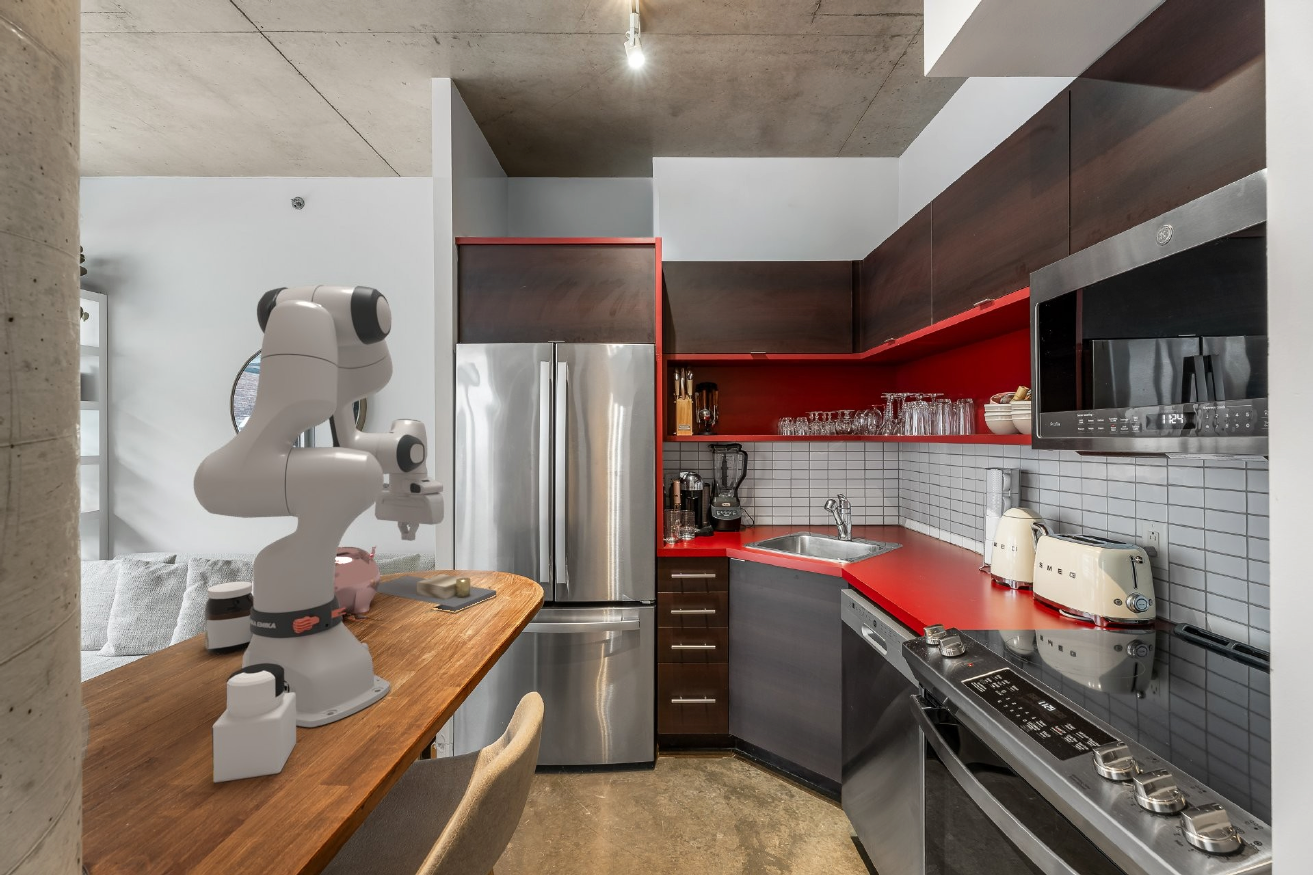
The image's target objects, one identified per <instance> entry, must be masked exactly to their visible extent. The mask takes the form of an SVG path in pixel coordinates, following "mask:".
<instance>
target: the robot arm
mask: <svg viewBox="0 0 1313 875" xmlns="http://www.w3.org/2000/svg"><path fill="white" fill-rule="evenodd" d="M256 306H257V307H256V319H257V322H258V325H259V327H260V330H261V331H262V333H263V338H262V343H261V352H260V359H259V360H260V361H259V373H258V374H259V376H258V383H257V389H256V396H255V403H254V406H253V408H252V412H251V414H250V415H249V418H248V420H247V421H246V423H245V424H244V426H243V427H242V428H241V430H240V431H239V432H238V433H237V434H236V435H235V436H234V437H233V438H232V439H231V440H229V441H228V442H227V443H225V445H223V446H221V447H220V448H218V449H217V450H215V451H213V452H212V453H210V454H209V455H207V456H206V457H204V459H203V460H202V461H201V463H200V464H199V465H198V467H197V468H196V472H195V474H194V477H193V491H194V495H195V498H196V499H197V501H198V502H199V504H200V505H201V507H202V508H203V509H204V510H206V511H207V512H208V513H209V514H213V515H219V516H226V517H233V518H234V517H235V518H242V519H243V518H244V519H247V518H248V519H252V518H275V517H277V518H278V517H295V518H297V527H296V529H295V531H293V532H291V533H290V534H287V535H285V536H283V537H281V538H279V539H277V540H275V541H274V542H271V543H269V544H268V545H267V546H265V547H263V548H262V549H261V550H260V551H259V552H258V554H257V555H256V556H255V559H254V561H253V564H252V576H253V577H252V578H253V579H252V580H253V581H252V591H253V593H252V595H253V604H254V605H253V606H252V607H251V609H250V616H249V622H250V631H251V632H252V633H253V636H252V639H251V641H250V644H249V646H248V648H247V649H245V650H244V654H243V656H242V665H241V669H242V668H244V667H247V666H251V665H255V664H261V663H271V664H278V665H280V666H282V667H283V668H284V693H292V692H294V693H295V694H296V726H298V727H305V728H315V727H319V726H323V725H326V724H330V723H332V722H336V721H339V720H342V719H343V718H345V717H346V718H347V717H348V716H351V715H353V714H355V713H357V712H359V711H361V710H363V709H365V708H367V707H370V706H371V705H373V704H374V703H376V702H377V701H379V700H380V699H381V698H383V697H384V696H386V695H387V694H388V693H389V692H390V690H391V683H390V681H388V680H386V679H384V678H382V677H380V676H379V675H376V674H374V673H375V672H374V671H375V670H374V662H373V658H372V655H371V653H370V648H369V645H368V644H367V643H366V642H360V641H359V639H358V638H357V637H356V636H355V635H354V633H352V632H351V631H350V630H349V628H347V626H346V625H345V623H343V619H344V618H343V616H345V615H344V614H346V613H341V611H343V610H344V609H346V608H345V607H343V608H340V604H339V603H338V600H337V597H336V596H335V595H334V579H335V564H336V555H337V550H338V547H340V544H341V542H342V538H343V537H344V534H346V532H347V530H348V529H349V527H350V526H351V524H352V523H354V521H355V520H356V519H357V518H358V517H360V515H363V513H365V511H367V510H368V509H370V508H371V507H372V506H373V505H374V504H375V506H374V516H375V518H376V520H378V521H379V520H380V521H388V522H397V528H398V530H399V531H400V534H401V535H400V536H401V537H400V538H401V540H402V541H410V542H411V541H415V540H416V533H417V532H418V529H419V527H420V525H432V526H433V525H437V524H441V523H442V522H443V520H444V517H445V504H444V498H443V495H442V494H441V493H442V492H443V491H444V485H443V483H441V482H439V481H437V480H435V479H433V478H432V477H430V476H428V467H427V464H426V463H427V462H426V461H427V458H428V436H427V431H426V425H425V424H424V423H423V422H422V421H420V420H417V419H411V418H410V419H409V418H398V419H395V420H393V421H392V423H391V425H390V426H391V427H390V431H389V432H385V433H384V432H380V433H379V432H371V433H370V432H364V431H361V430H359V429H358V428H356V427H357V426H356V419H355V414H354V413H355V412H354V407H353V404H354V403H355V402H358V401H361V400H364V399H366V398H370V397H372V396H374V395H375V394H377V393H379V392H381V391H382V390H383V389H384V388H385V387H386V386H387V385H388V384H389V383H390V381H391V379H392V376H393V373H394V372H393V368H394V367H393V361H392V358H391V354H390V351H389V347H388V345H387V341H386V338H387V336H388V335H389V334H390V332H391V329H392V320H393V319H392V318H393V317H392V311H391V308H390V305H389V302H388V300H387V298H386V296H385V295H384V294H382V293H381V292H380V291H379V290H378V289H377V288H374V287H369V286H364V285H362V286H361V285H357V286H354V287H353V286H343V285H323V284H316V285H315V284H313V285H305V286H298V287H297V286H295V287H286V286H285V287H284V286H282V287H278V288H273V289H270V290H267V291H266V292H264V294H263V295H262V296H261V297H260V299H259V300H258V302H257V305H256ZM327 421H329V427H330V432H331V439H332V446H318V447H317V446H316V447H315V446H314V447H313V446H309V447H307V446H303V447H302V446H301V447H300V446H294V444H295V442H296V441H297V439H298V438H299V437H300V436H301V435H302V434H303V433H305V432H306V431H308V430H309V429H312V428H315V427H317V426H319V425H321V424H324V423H325V422H327ZM387 474H388V483H387V482H385V483H384V479H385V478H384V475H387ZM342 615H343V616H342Z"/></svg>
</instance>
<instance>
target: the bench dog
mask: <svg viewBox="0 0 1313 875" xmlns="http://www.w3.org/2000/svg"><path fill="white" fill-rule="evenodd" d="M470 586H471V578H470V577H464V578H458V579H456V597H457V598H467V597H470Z"/></svg>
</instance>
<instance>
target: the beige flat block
mask: <svg viewBox="0 0 1313 875" xmlns="http://www.w3.org/2000/svg"><path fill="white" fill-rule="evenodd" d="M458 578H465V577H463V576H458V575H450V574H443V573H440V574H438V575H434V576H431V577H429V578H424V579H425V580H422V581H418V582H417V594H418V595H423V596H429V597H434V598H440V599H445V600H446V599H449V598H451V597H454V596H456V579H458Z"/></svg>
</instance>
